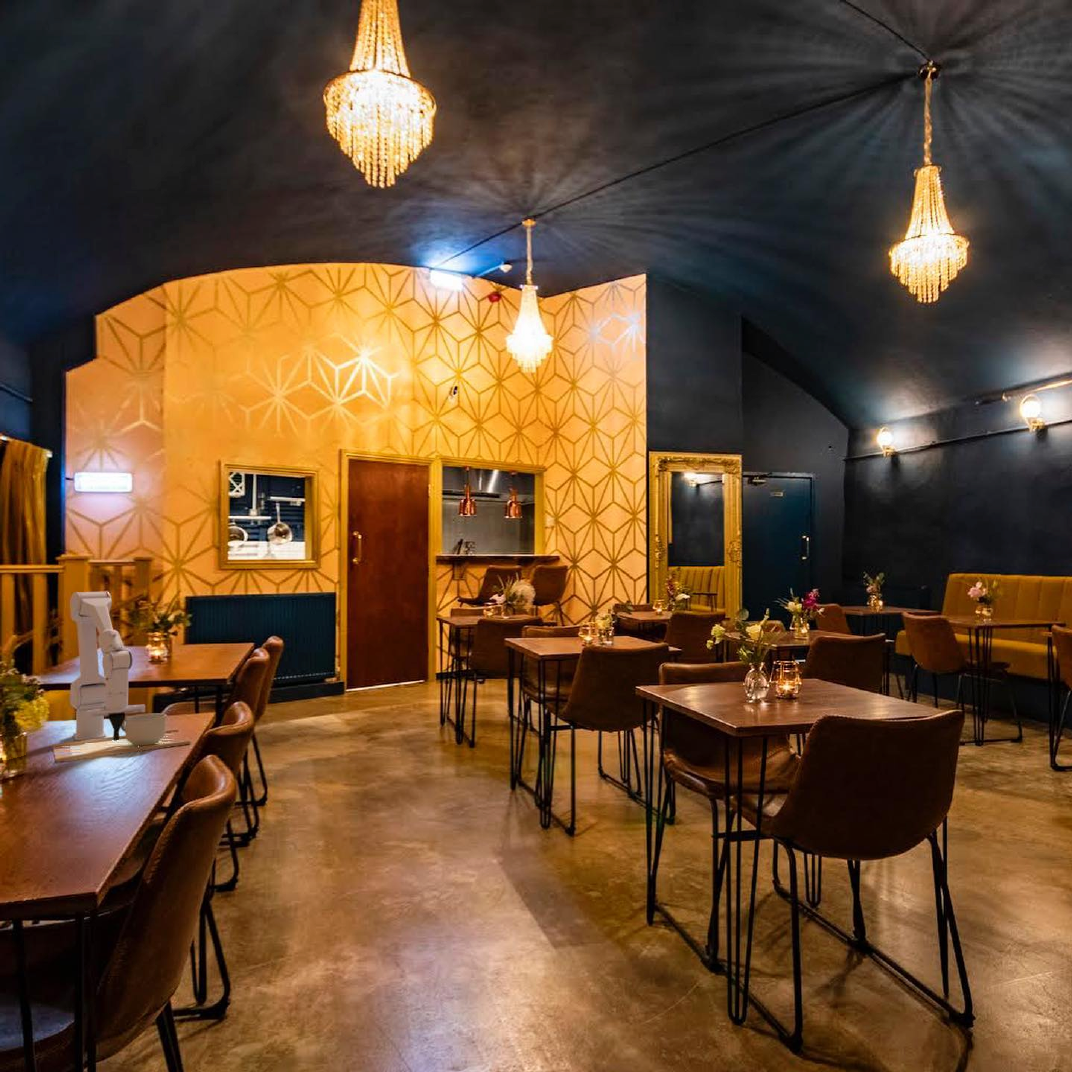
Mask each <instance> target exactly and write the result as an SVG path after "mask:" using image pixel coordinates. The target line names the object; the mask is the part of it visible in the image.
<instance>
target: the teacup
mask: <svg viewBox="0 0 1072 1072" xmlns="http://www.w3.org/2000/svg"><path fill="white" fill-rule="evenodd" d="M120 729H121V730H122V731H123V732H124V733H125V735H126V739H127V740H128V741H129V742H131V743H132V744H133V745H149V744H154V743H157V742H159V741H160V740H161V739H162V738H163V737H164V735H165V733H166V730H167V714H165V713H159V712H158V713H143V714H136V715H131V716H125V719H124V721H123V723H122V725H121V727H120Z"/></svg>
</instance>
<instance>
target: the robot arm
mask: <svg viewBox="0 0 1072 1072" xmlns="http://www.w3.org/2000/svg"><path fill="white" fill-rule="evenodd" d="M112 604H113V601H112V595H111V593H110V592H109V591H108V590H105V591H83V592H81V591H80V592H78V591H75V592H73V594H72V595H71V596H70V600H69V608H70V611H69V612H70V618H71V620H72V621H74V622H76V627H77V640H78V641H77V642H78V656H79V669H80V670H79V671H80V672H79V673H80V675H79V677H77V678H76V679H75V680H74V681H72V682H71V683H70V692H69V702H70V705H71V707H72V708H74V709H76V711H75V712H76V714H75V715H76V717H75V718H76V719H75V720H76V721H75V725H76V726H75V727H76V728H75V729H76V731H75V733H73V734H72V736H73V738H74V740H75V741H76V740H78V741H82V740H91V739H99V738H107V734H106V732H105V731H104V726H105V725H104V723H105V722H104V721H105V720H104V719H105V717H106V716H107V718H108V719H109V722H110V723H111V726H112V729H113V735H112V737H113V740H114V741H117V740H119V736H120V729H121V725H122V723H123V721H124V719H125V717H126V714H133V713H134V714H135V713H146V705H145V704H130V705H129V670H130V669H132V668H133V667H132V666H133V662H134V659H133V655H132V654H133V653H132V651H131V650H130V649H128V647H127V646H125V644H124V642H123V640H122V638H121V635H120V632H119V631H117V630H116V629H114V628H113V623H112V620H111V617H110V615H111V614H110V611H111V609H112V608H111V607H112ZM97 630H98V633H99V635H98V636H97ZM98 645H99V647H100V650H101V653H102V656H103V657H102V660H101V663H102V665H101V666H102V668H103V675H102V674H101V673H100V667H99V655H98Z"/></svg>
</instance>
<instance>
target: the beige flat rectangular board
mask: <svg viewBox="0 0 1072 1072" xmlns="http://www.w3.org/2000/svg"><path fill="white" fill-rule="evenodd" d="M171 732H180V731H179V728H174V729H173V728H171V729H166V733H171ZM165 735H172V734H165ZM173 735H174V734H173ZM164 737H165V736H164ZM166 737H168V736H166ZM112 740H113V736H108V737H107V736H106V737H102V738H94V739H86V740H78V741H76V740H75V741H67V742H61V743H60V742H59V743H52V746H51V747H53V748H52V752H53V751H54V752H85V753H54V752H53V755H75V756H54V759H55V763H56V762H57V763H61V762H60V761H64V762H71V761H76V760H75V759H79V760H82V759H81V758H86V759H92V758H99V757H100V756H101V757H106V756H105V755H108V756H115V755H114V754H116V755H121V754H120V753H123V754H127V753H126V752H130V753H135V752H136V753H137V751H138V752H143V750H145V751H150V750H149V749H152V750H158V748H160V749H165V748H164V747H167V748H170V747H169V746H174V747H179V746H178V745H182V746H186V745H185V744H189V745H191V740H190V739H189V740H187V739H186V740H187V741H180V742H169V741H168V742H162V741H159V742H157V743H160V744H155V743H154V744H149V745H133V744H132V743H131V742H129V741H128V740H127V739H126V734H124V735H119V740H125V741H115V742H114V741H112ZM161 740H174V739H161ZM85 743H94V744H85ZM108 743H128V744H108ZM161 743H162V744H161ZM163 743H165V744H163ZM62 746H69V747H62ZM70 746H75V747H70ZM76 746H81V747H76ZM82 746H84V747H82ZM85 746H86V747H85ZM87 746H90V747H87ZM91 746H92V747H91ZM94 746H95V747H94ZM101 746H103V747H101ZM105 746H107V747H105ZM108 746H109V747H108ZM111 746H112V747H111ZM138 746H139V747H138ZM53 749H64V750H53ZM65 749H66V750H65ZM67 749H72V750H67ZM73 749H74V750H73ZM75 749H81V750H75ZM82 749H83V750H82ZM89 749H90V750H89ZM91 749H92V750H91Z"/></svg>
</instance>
